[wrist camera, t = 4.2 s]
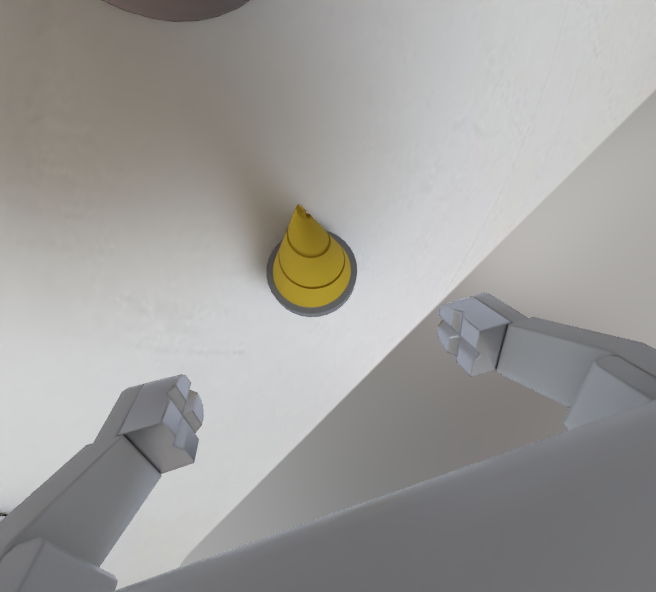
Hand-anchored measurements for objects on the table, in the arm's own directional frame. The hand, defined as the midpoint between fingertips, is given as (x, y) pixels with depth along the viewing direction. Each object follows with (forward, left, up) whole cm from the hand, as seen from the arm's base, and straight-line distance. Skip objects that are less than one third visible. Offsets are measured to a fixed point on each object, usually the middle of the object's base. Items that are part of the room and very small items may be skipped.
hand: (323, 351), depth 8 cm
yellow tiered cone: (0, 0, -11) cm, 11 cm away
